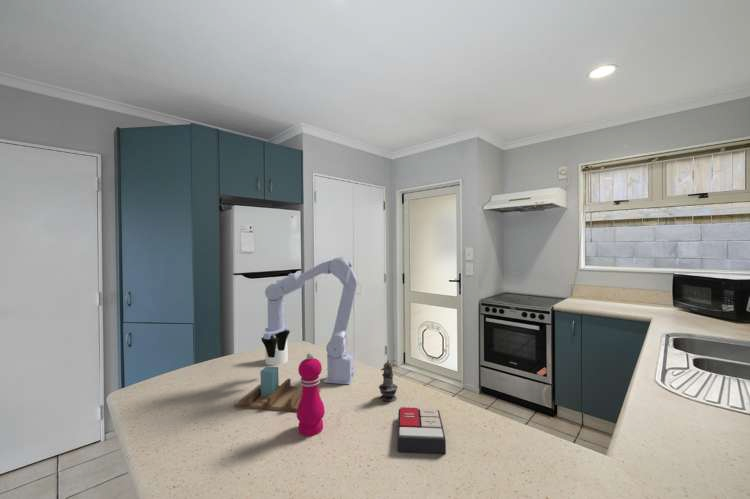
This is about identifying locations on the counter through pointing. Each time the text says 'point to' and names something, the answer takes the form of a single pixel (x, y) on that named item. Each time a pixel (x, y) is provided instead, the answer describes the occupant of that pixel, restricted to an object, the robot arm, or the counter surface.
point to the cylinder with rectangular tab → (277, 356)
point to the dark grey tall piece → (388, 384)
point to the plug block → (269, 381)
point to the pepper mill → (310, 397)
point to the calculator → (420, 431)
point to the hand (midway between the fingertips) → (276, 353)
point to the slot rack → (273, 398)
